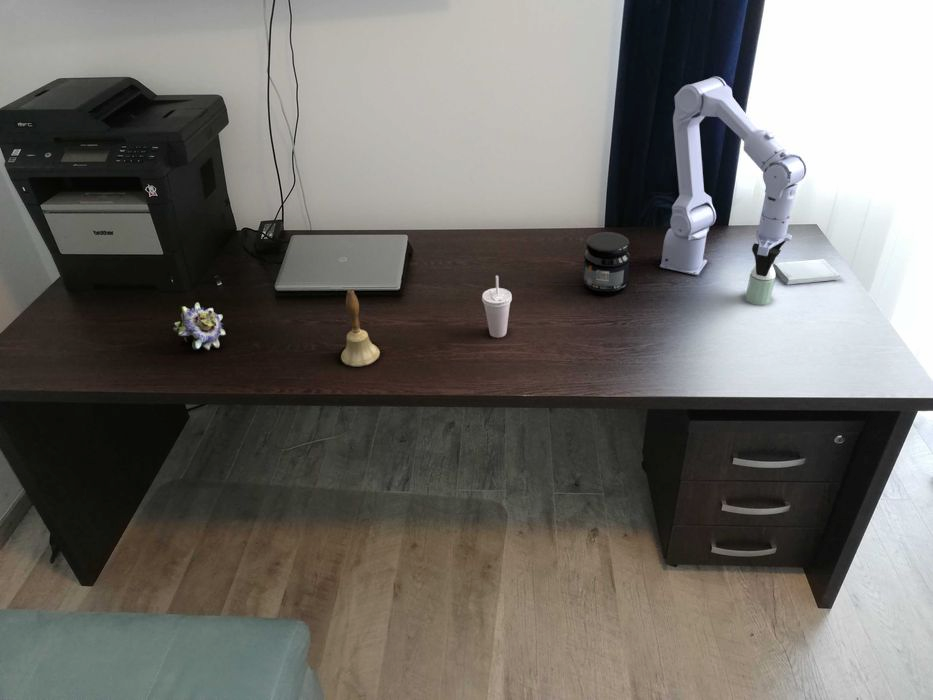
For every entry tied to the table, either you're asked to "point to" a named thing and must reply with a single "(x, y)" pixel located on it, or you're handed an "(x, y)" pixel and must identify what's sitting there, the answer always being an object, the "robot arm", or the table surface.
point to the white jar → (769, 276)
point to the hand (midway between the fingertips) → (763, 270)
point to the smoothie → (497, 309)
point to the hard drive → (805, 271)
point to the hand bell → (357, 338)
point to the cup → (759, 290)
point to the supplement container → (606, 263)
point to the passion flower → (200, 327)
